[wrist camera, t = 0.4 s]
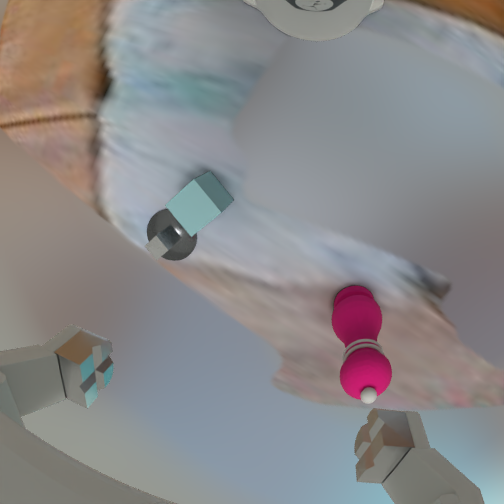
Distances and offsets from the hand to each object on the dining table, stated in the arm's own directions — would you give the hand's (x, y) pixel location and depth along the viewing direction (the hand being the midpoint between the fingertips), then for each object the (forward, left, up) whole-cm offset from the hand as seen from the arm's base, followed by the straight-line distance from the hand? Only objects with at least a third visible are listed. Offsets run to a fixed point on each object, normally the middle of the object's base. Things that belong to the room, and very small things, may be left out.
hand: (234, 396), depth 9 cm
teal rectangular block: (+3, -12, -36) cm, 38 cm away
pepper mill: (+18, +10, -37) cm, 42 cm away
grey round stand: (+9, -18, -36) cm, 42 cm away
